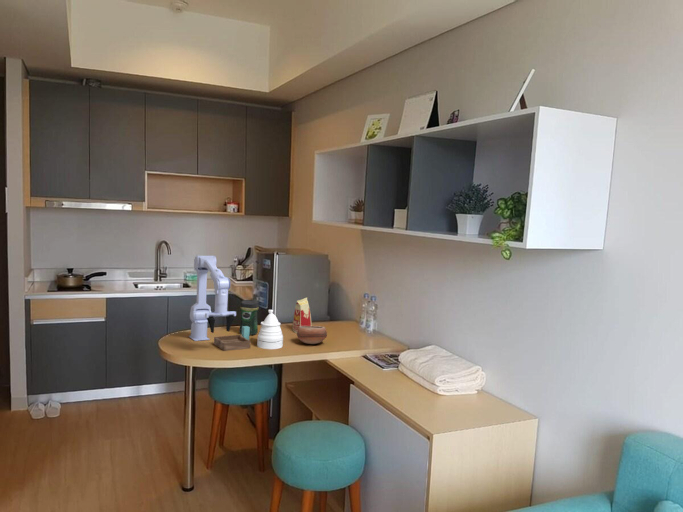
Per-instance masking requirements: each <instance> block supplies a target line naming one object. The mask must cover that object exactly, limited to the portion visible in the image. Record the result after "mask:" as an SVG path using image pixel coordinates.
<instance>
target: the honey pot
mask: <svg viewBox="0 0 683 512" xmlns="http://www.w3.org/2000/svg"><path fill="white" fill-rule="evenodd" d="M267 311H268V315H267V316H266V317H265V319H264V321H261V322H260V326H261V327H260V328H259V330H258V331H259V332H258V333H257V334H258V335H257V343H256V346H257V348H259V349H264V350H277V349H281V348H283V346H284V345H283V344H284V335H283V331H282V329H281V322H279V320H278V317H277V316H276V314H274V313H273V312H274V309H268V310H267Z"/></svg>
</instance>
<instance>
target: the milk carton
mask: <svg viewBox="0 0 683 512" xmlns="http://www.w3.org/2000/svg"><path fill="white" fill-rule="evenodd" d="M300 326H312V315H311V308H310V305H309V301H308V297H305V298H302V299H298V300H296V303H295V308H294V313H293V319H292V331H293V332H294V333H295V334H297V331H298V328H299V327H300Z"/></svg>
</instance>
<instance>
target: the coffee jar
mask: <svg viewBox="0 0 683 512" xmlns="http://www.w3.org/2000/svg"><path fill="white" fill-rule="evenodd" d="M259 307H260V306H259V301H257V300H250V299H243V300H241V302H240V313H241V314H240V322H239V323H240V325H239V332H238V333H239V335H242V326H248V327H250V332H249V336H253V335H254V336H255V335H257V334H259V332H258V331H259V330H258V311H259Z"/></svg>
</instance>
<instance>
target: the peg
mask: <svg viewBox="0 0 683 512" xmlns="http://www.w3.org/2000/svg"><path fill="white" fill-rule="evenodd" d="M249 332H250V327H248V326H242V334H241V336H242V337H244V338H246V339H248V340H249V341H250V335H249Z"/></svg>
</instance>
